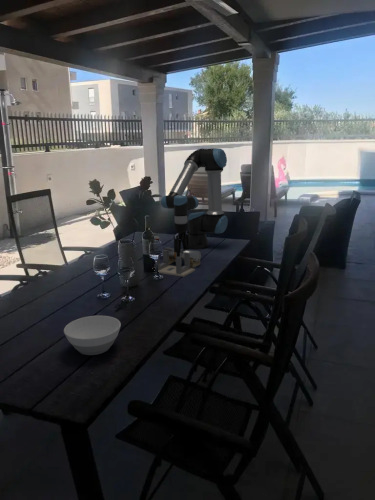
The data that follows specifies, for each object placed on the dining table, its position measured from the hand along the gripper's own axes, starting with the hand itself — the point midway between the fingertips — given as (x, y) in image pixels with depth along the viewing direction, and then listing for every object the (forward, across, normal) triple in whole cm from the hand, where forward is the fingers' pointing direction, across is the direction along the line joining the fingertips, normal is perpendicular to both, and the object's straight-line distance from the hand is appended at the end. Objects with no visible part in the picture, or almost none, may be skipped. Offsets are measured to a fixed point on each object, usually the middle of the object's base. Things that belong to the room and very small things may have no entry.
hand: (182, 261), depth 251 cm
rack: (+1, 0, 0) cm, 1 cm away
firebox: (+1, +14, +2) cm, 14 cm away
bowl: (+2, +104, +26) cm, 107 cm away
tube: (-2, 0, 0) cm, 2 cm away
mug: (+2, -4, -23) cm, 23 cm away
